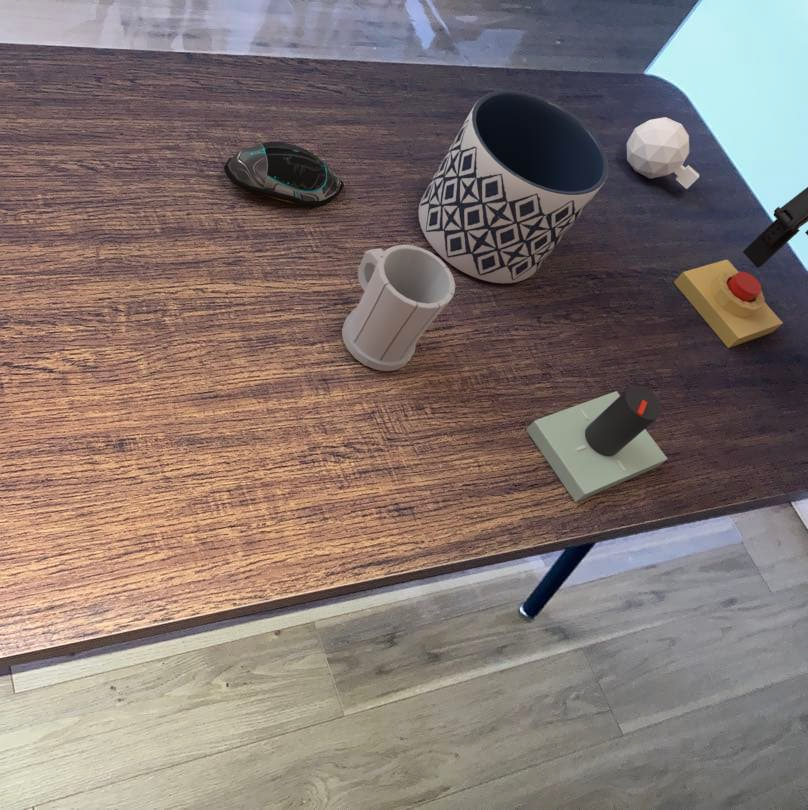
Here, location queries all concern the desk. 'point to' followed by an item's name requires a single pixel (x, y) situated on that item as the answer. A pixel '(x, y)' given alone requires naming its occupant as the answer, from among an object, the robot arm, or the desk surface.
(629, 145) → the perfume bottle
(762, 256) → the robot arm
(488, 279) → the planter
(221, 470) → the desk surface
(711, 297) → the power box
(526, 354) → the desk surface
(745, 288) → the power button
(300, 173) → the computer mouse
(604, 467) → the control panel
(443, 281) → the cup
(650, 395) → the dial
